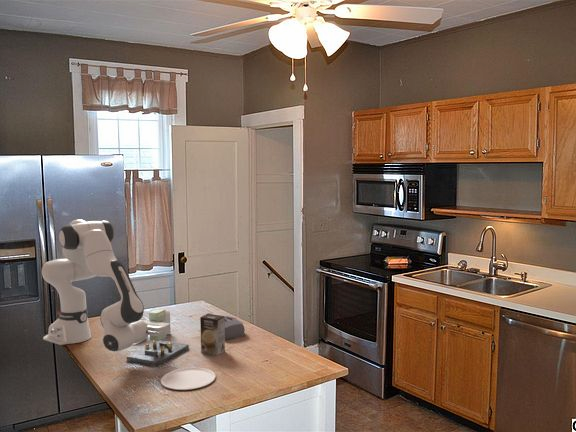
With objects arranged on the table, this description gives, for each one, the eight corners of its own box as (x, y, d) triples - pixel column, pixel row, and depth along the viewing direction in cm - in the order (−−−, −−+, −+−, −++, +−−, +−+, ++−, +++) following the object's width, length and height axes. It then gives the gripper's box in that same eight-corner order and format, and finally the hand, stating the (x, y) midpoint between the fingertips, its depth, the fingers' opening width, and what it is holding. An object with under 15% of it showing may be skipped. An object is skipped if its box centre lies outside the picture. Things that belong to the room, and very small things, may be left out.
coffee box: (200, 352, 231) (199, 317, 229) (208, 348, 236) (207, 313, 235) (218, 356, 227) (217, 319, 225) (225, 351, 233) (225, 315, 231)
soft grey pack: (249, 336, 253) (228, 325, 269) (248, 319, 252) (228, 309, 268) (221, 342, 244) (201, 331, 260) (220, 325, 243) (201, 315, 259)
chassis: (126, 361, 222) (126, 349, 221) (159, 344, 242) (159, 333, 242) (157, 366, 216) (157, 354, 215) (188, 349, 236) (188, 338, 235)
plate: (219, 388, 196) (219, 384, 195) (162, 395, 190) (162, 392, 189) (211, 367, 215) (211, 364, 215) (159, 373, 209) (159, 370, 209)
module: (149, 339, 226) (148, 312, 225) (158, 335, 231) (157, 308, 230) (157, 341, 224) (156, 313, 223) (166, 336, 230) (165, 309, 229)
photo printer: (168, 331, 260) (168, 307, 259) (172, 334, 256) (171, 309, 255) (148, 335, 254) (147, 310, 253) (151, 338, 251) (150, 312, 249)
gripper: (158, 326, 211) (178, 317, 223) (118, 320, 219) (140, 312, 232) (158, 341, 211) (179, 331, 224) (118, 335, 220) (140, 326, 232)
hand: (158, 321), depth 228 cm, fingers closed on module, 4 cm apart
